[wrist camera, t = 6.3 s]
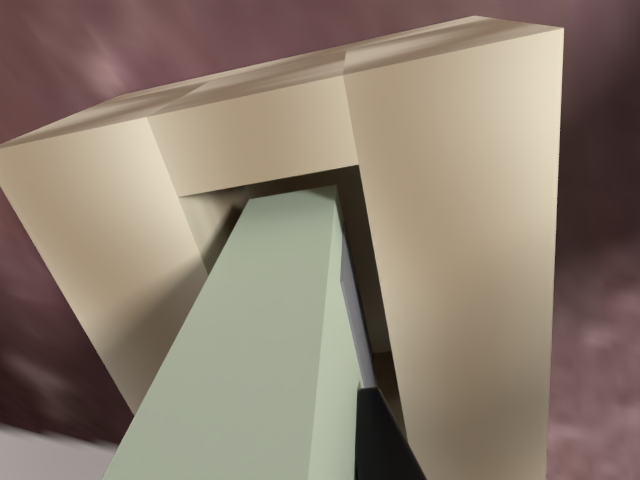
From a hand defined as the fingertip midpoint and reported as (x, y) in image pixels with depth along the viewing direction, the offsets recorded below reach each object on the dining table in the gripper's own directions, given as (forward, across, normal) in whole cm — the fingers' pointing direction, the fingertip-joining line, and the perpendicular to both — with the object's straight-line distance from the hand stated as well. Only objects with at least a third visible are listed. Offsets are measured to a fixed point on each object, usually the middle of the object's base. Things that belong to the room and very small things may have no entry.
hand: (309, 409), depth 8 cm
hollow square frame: (+7, 0, 0) cm, 7 cm away
